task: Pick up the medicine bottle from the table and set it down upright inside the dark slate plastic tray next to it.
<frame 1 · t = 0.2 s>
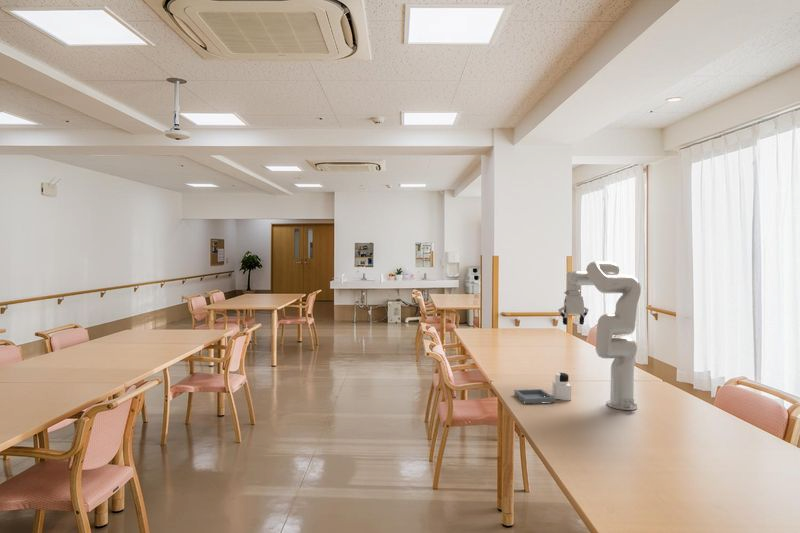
hand: (573, 324, 250), 31 cm above the table, tool pointing down, fingers open, 9 cm apart
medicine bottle: (561, 398, 218), on the table
tray: (533, 399, 216), on the table
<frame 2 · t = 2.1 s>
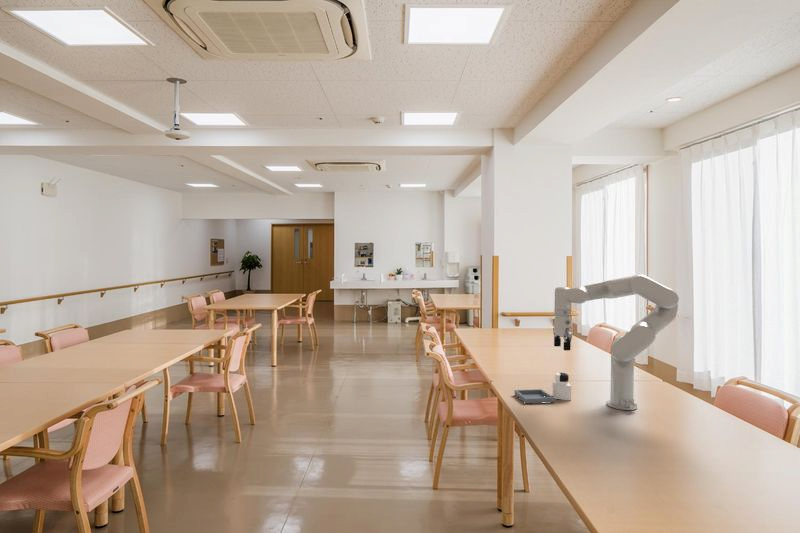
hand: (562, 348, 218), 24 cm above the table, tool pointing down, fingers open, 9 cm apart
nothing on the table moved.
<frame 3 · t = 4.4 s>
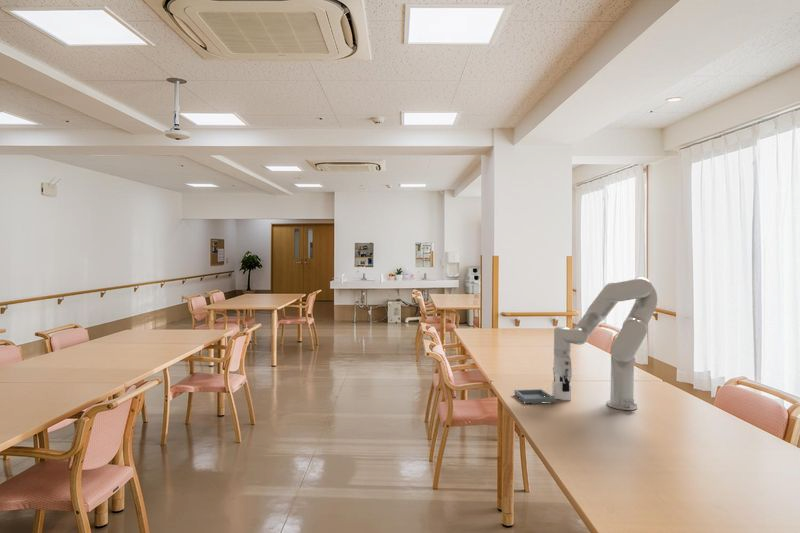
hand: (561, 388, 218), 5 cm above the table, tool pointing down, fingers closed on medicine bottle, 8 cm apart
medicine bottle: (561, 398, 218), on the table, touching gripper
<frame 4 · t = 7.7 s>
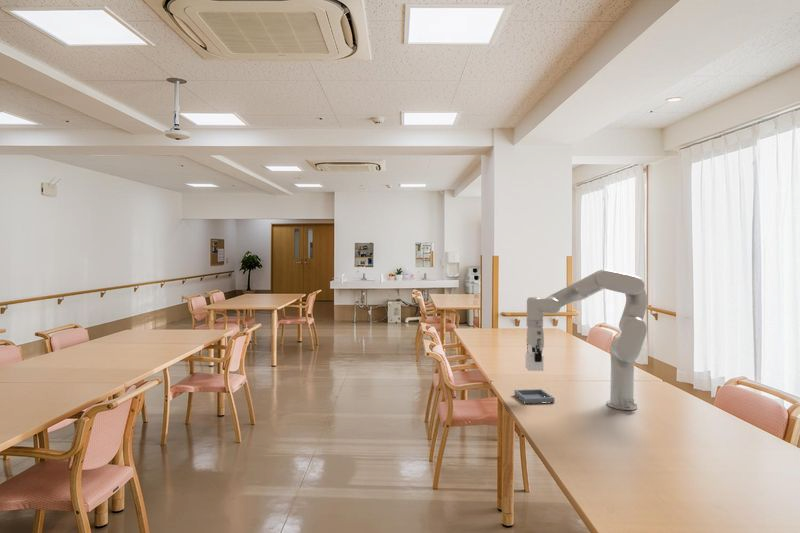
hand: (534, 359, 216), 19 cm above the table, tool pointing down, fingers closed on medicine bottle, 8 cm apart
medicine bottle: (534, 369, 216), point 14 cm above the table, touching gripper
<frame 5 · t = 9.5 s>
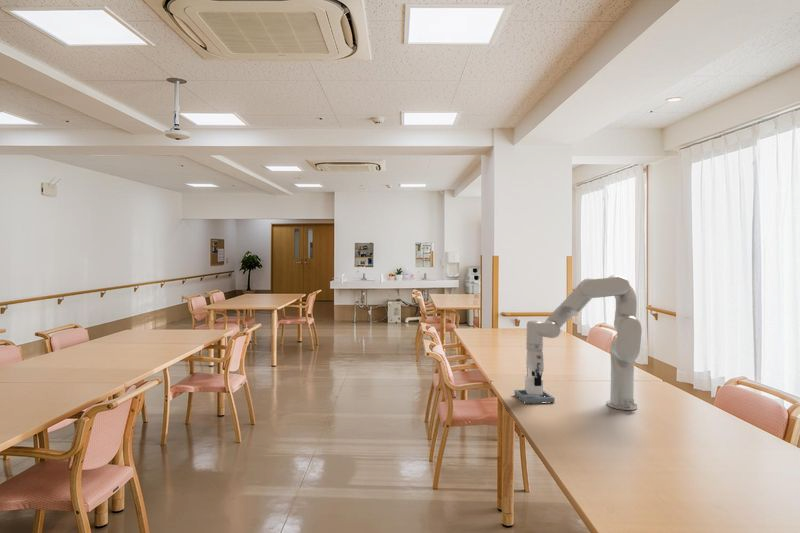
hand: (533, 383, 216), 8 cm above the table, tool pointing down, fingers closed on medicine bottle, 8 cm apart
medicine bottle: (533, 393, 216), point 3 cm above the table, touching gripper
when the fingers open (6 cm above the table, at t = 10.9 s): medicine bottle drops 1 cm, resting on tray.
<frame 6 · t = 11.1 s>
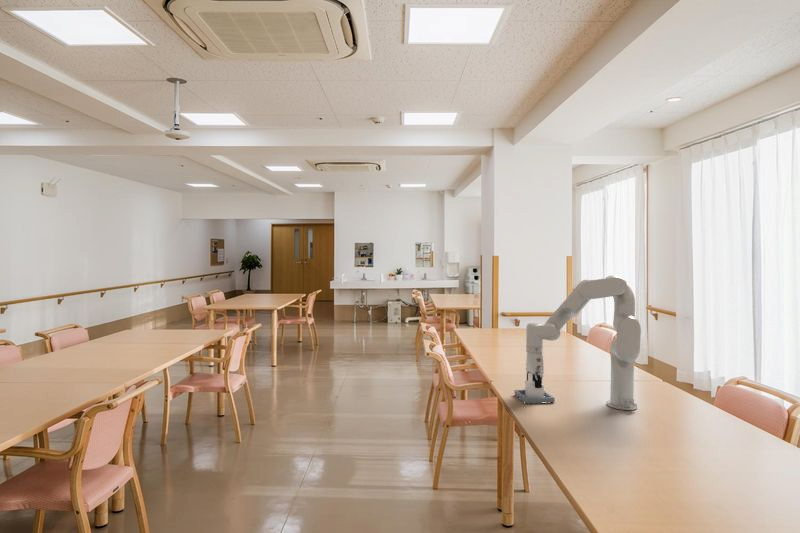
hand: (534, 385, 216), 7 cm above the table, tool pointing down, fingers open, 9 cm apart
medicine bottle: (534, 397, 216), point 1 cm above the table, touching tray
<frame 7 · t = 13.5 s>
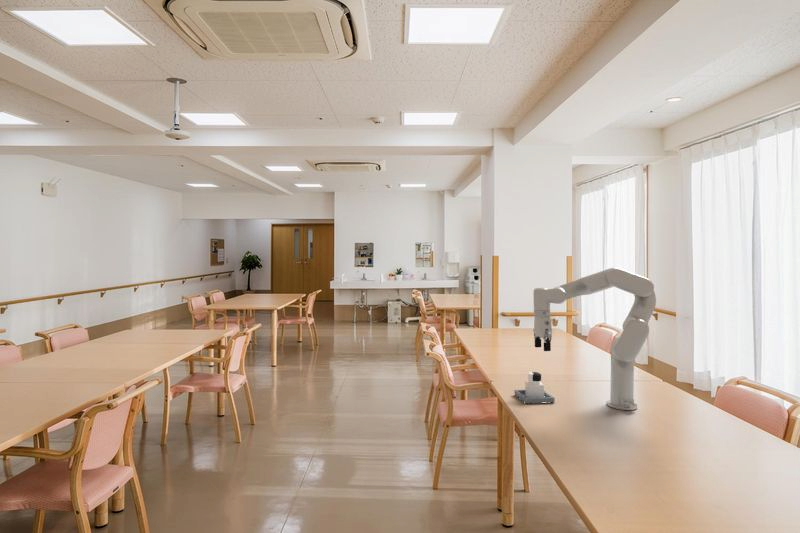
hand: (542, 349, 218), 24 cm above the table, tool pointing down, fingers open, 9 cm apart
nothing on the table moved.
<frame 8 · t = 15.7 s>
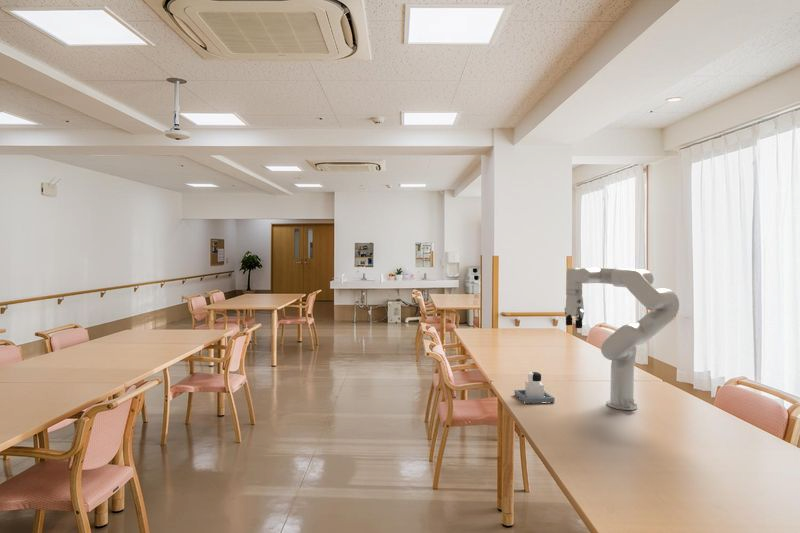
hand: (573, 326, 227), 33 cm above the table, tool pointing down, fingers open, 9 cm apart
nothing on the table moved.
at the end: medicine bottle 0.3 cm off-centre on the tray, point 0.4 cm above the tray's base; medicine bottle tilted 0°; the gripper is holding nothing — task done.
